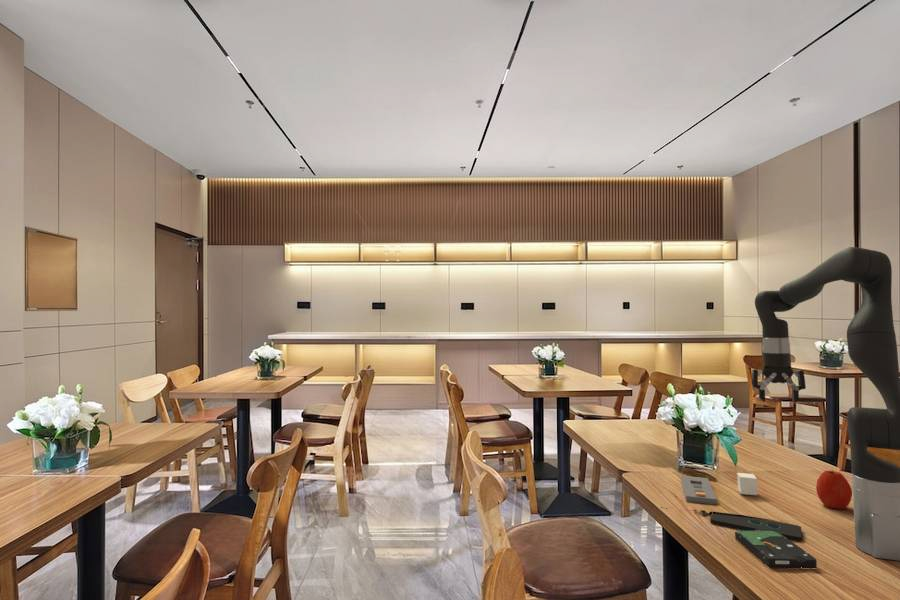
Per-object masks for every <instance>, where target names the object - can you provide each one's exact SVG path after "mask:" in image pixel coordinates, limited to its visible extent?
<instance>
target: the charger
mask: <svg viewBox="0 0 900 600" xmlns="http://www.w3.org/2000/svg"><path fill="white" fill-rule="evenodd" d="M736 474H737V475H736V476H737V477H736V478H737V479H736V480H737V490H738V492H739V493H740V494H741V495H745V496H746V495H747V496H758V495H759V494H758V479H757V477H756V476H755V474H753V473H746V472H745V473H744V472H737V473H736Z"/></svg>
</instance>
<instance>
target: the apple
mask: <svg viewBox="0 0 900 600" xmlns="http://www.w3.org/2000/svg"><path fill="white" fill-rule="evenodd" d="M851 487H852V486H851V485H850V483H849V482H848V480H847V478H846V477H845V476H844V475H843V474H842V473H841V472H839V471H834V470H824V471H823V472H822V473H820V475H819V476H818V478H817V479H816V487H815V489H816V495H817V497H818V499H819V500H820V502H821V504H823V505H824V506H825V507H827V508H831V509H834V508H835V509H836V510H845V509H846V508H847V507H848V506H849V505H850V503H851V501H852V498H853V488H851Z"/></svg>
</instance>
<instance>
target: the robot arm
mask: <svg viewBox="0 0 900 600" xmlns="http://www.w3.org/2000/svg"><path fill="white" fill-rule="evenodd" d="M892 273H893V271H892V262H891V259H890V258H889V257H888V255H887V254H886V253H884V252H882V251H878V250H873V249H869V248H863V247H857V246H848V247H845V248H843V249H840V250H839V251H837V252H835V253H834V254H833V255H831V256H830V257H828V258H827V259H825V260H824V261H823V262H822V263H820V264H819V265H817V266H816V267H815V268H813V269H812V270H810V271H809V272H807V273H805V274H804V275H802V276H800V277H797V278H796V279H793V280H791V281H789V282H787V283H785V284H783V285H782V286H781V287H780V289H779V290H762V291H760V292H758V293H757V295H755V299H754V307H755V310H756V312H757V315H758V318H759V321H760V324H761V328H762V332H761V333H762V344H761V347H762V348H761V351H762V367H763V368H762V369H756V368H753V369H751V386H752V388H755V389H757V390H758V399H759V400H761V402H766V387H767V386H768V385H769V384H778V383H780V384H787V385H788V386H789V387H790V388H791V389H792V390H791V400H792V403H793V404H794V403H795V404H797V403H798V402H799V400H800V397H799V396H800V395H799V394H800V393H799V392H800V391H801V390H806V389H807V387H806V379H805V372H804V370H801V369H796V370H793V368H792V360H791V359H792V356H791V343H790V338H789V335H790V334H789V324H788V322H787V321H786V320H785V319H781V318H778V317H777V316H776V314H775V313H784V312H789V311H791V310H793V309H794V308H795V307H797V306H798V305H799V304H801V303H803V302H804V303H805V302H806V301H809V300H811V299H813V298H815V297H817V296H818V295H819V294H820V293H821V292H822V291H823V289H824V287H825V285H826V284H829V283H832V282H833V283H834V282H837V281H844V282H848V283H852V284H858V285H859V286H860V289H861V290H860V291H861V305H860V307H859V309H858V310H857V312H856V313H855V315H854V316H853V318H852V319H851V320H850V323H849V324H848V326H847V330H846V341H847V350H848V352H847V353H848V356H849V358H850V360H851V361H852V363H853V364H854V365H855V366H856V368H857V369H859V370H860V372H862V374H863V375H864V376H865V377H866V378H867V379H868V381H870V382H871V383H872V384H873V385H874V387H875V388H876V390H877V391H878V392H879V393H880V396H881V397H882V399H883V402H884V404H885V407H886V408H874V407H860V406H859V407H858V406H857V407H856V406H855V407H851V408H849V409H848V411H847V414H846V415H847V416H846V423H847V432H848V433H847V434H848V439H849V447H850V448H849V449H850V464H851V465H850V467H851V469H850V470H851V482H852V483H851V485H852V486H851V487H852V488H851V489H852V501H853V519H854V534H855V536H854V539H855V546H856V548H857V549H859V550H860V551H862V552H864V553H866V554H868V555H871V556H872V557H873V558H876V559H884V560H892V561H899V562H900V466H899V465H897V464H895V463H892V462H891V461H887V460H885V459H881V458H879V457H877V456H876V455H874V454H873V453H871V452H870V451H868V448H874V449H883V450H893V451H895V450H896V451H900V368H899V367H900V366H899V354H898V353H899V352H898V345H897V337H896V331H895V325H894V324H895V323H894V316H893V306H892V305H893V304H892V284H893V283H892V280H893V278H892V277H893V275H892ZM761 374H762V375H763V376H764V377H763V380H761V382H760V384H759V379H758V378H759V377H760V376H761ZM793 375H794V376H795V377H796V378H797V382H798V385H796V384H795V382H794V381H793V380H792V379H791V377H793Z"/></svg>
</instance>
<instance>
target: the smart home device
mask: <svg viewBox="0 0 900 600" xmlns="http://www.w3.org/2000/svg"><path fill="white" fill-rule="evenodd" d="M709 518H710V519H709V522H710V524H712V525H716V526H720V527H726V528H730V529H736V530H741V531H755V530H776V531H778V532H779V533H781V534H782V535H784V536H785V537H786V538H788V539H789V540H791V541H792V542H798V541H799V542H800V543H802V542H803V540H802V539H803V537H802V535H803V533H802V526H800V525H796V524H792V523H787V522H781V521H776V520H772V519H771V520H770V519H765V518H760V517H755V516H749V515H744V514H737V513H736V514H735V513H728V512H720V511H712V513H711V515H710V517H709ZM801 541H802V542H801Z"/></svg>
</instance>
